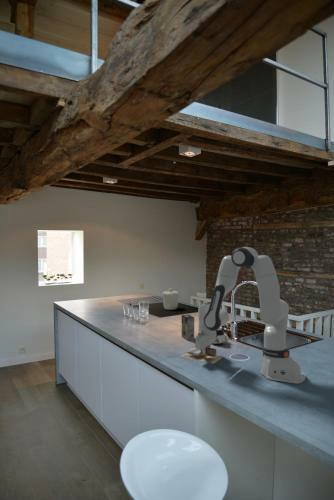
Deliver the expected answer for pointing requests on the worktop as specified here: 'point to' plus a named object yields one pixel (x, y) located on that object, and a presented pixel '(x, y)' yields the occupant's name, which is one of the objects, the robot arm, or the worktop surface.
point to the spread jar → (220, 337)
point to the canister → (170, 299)
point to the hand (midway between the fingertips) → (206, 352)
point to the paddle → (198, 352)
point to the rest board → (203, 358)
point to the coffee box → (187, 327)
